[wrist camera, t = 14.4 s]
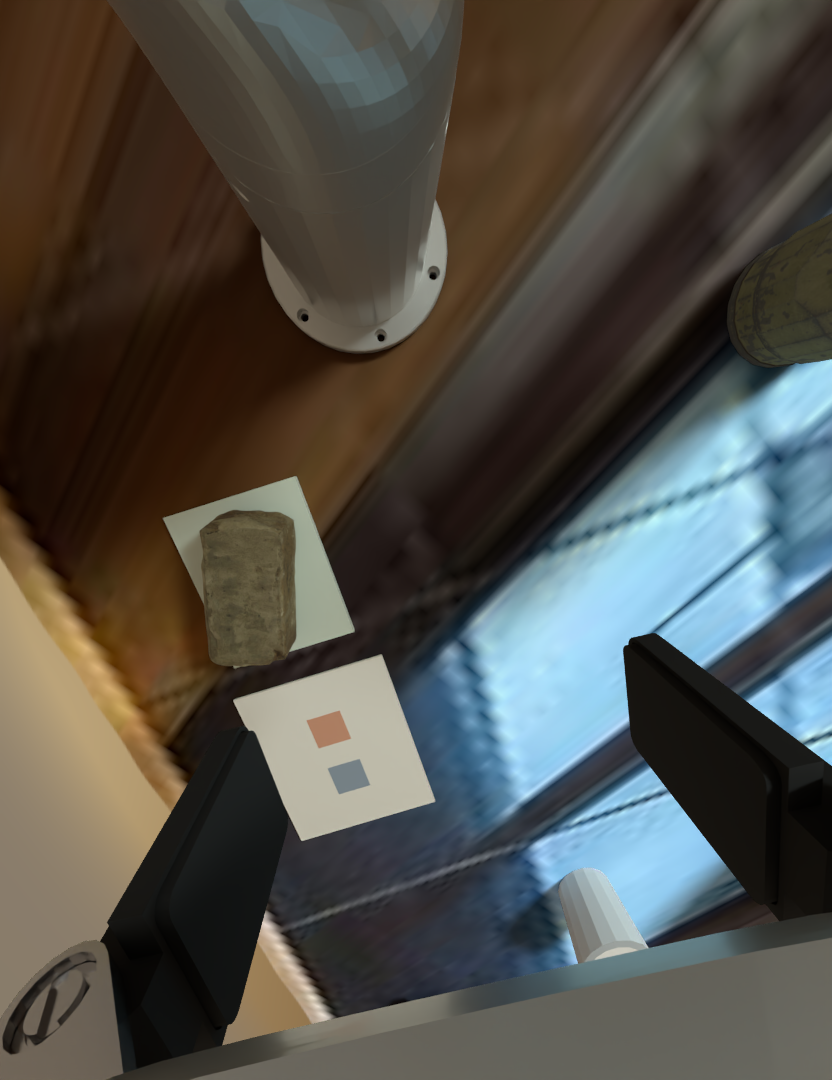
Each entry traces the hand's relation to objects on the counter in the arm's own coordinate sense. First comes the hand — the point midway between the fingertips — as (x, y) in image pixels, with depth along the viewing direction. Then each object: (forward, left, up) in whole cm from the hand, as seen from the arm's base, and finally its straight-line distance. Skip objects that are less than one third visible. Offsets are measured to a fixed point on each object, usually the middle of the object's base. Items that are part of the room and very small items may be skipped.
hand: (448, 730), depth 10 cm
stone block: (0, -13, -24) cm, 27 cm away
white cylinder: (+44, +6, -24) cm, 51 cm away
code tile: (+19, -13, -24) cm, 33 cm away
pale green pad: (0, -13, -24) cm, 27 cm away
